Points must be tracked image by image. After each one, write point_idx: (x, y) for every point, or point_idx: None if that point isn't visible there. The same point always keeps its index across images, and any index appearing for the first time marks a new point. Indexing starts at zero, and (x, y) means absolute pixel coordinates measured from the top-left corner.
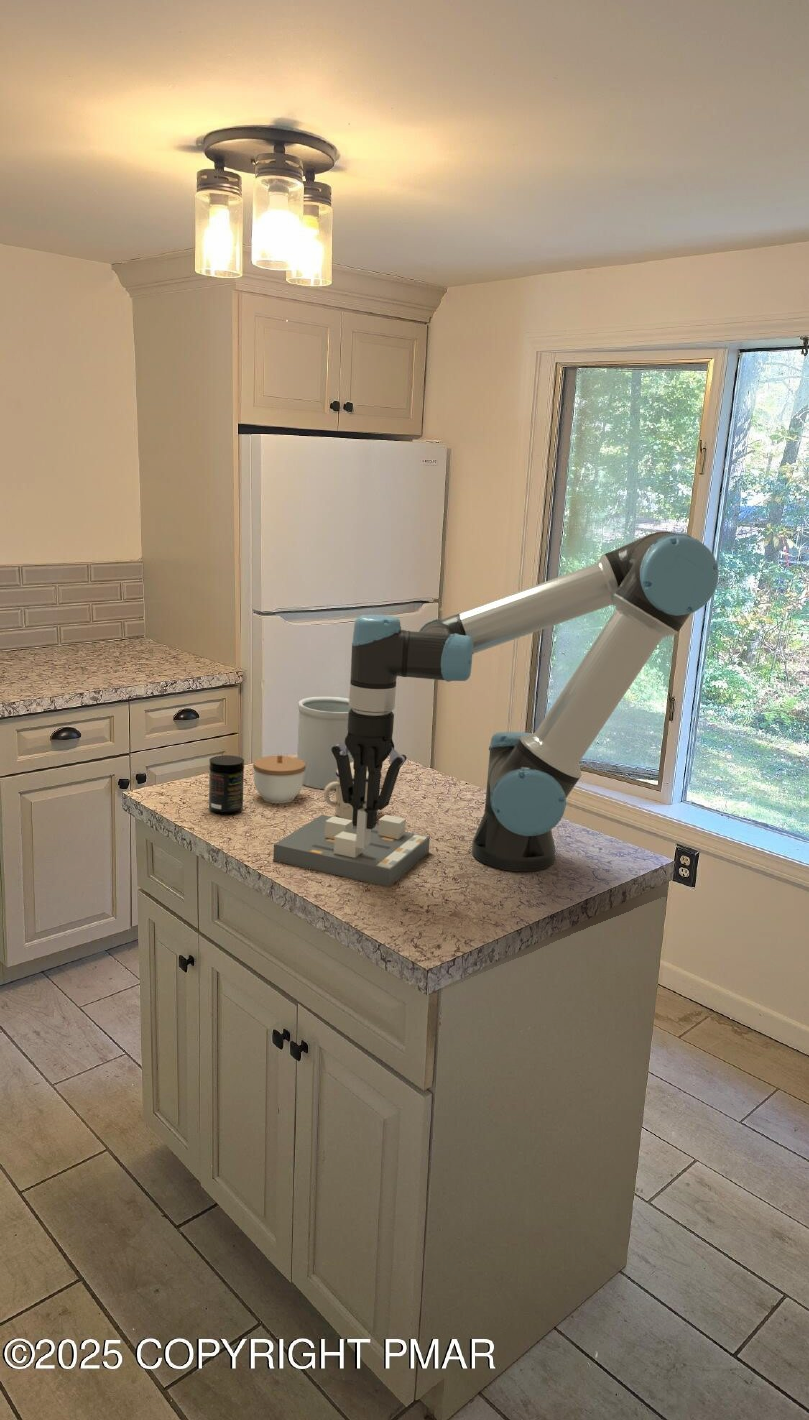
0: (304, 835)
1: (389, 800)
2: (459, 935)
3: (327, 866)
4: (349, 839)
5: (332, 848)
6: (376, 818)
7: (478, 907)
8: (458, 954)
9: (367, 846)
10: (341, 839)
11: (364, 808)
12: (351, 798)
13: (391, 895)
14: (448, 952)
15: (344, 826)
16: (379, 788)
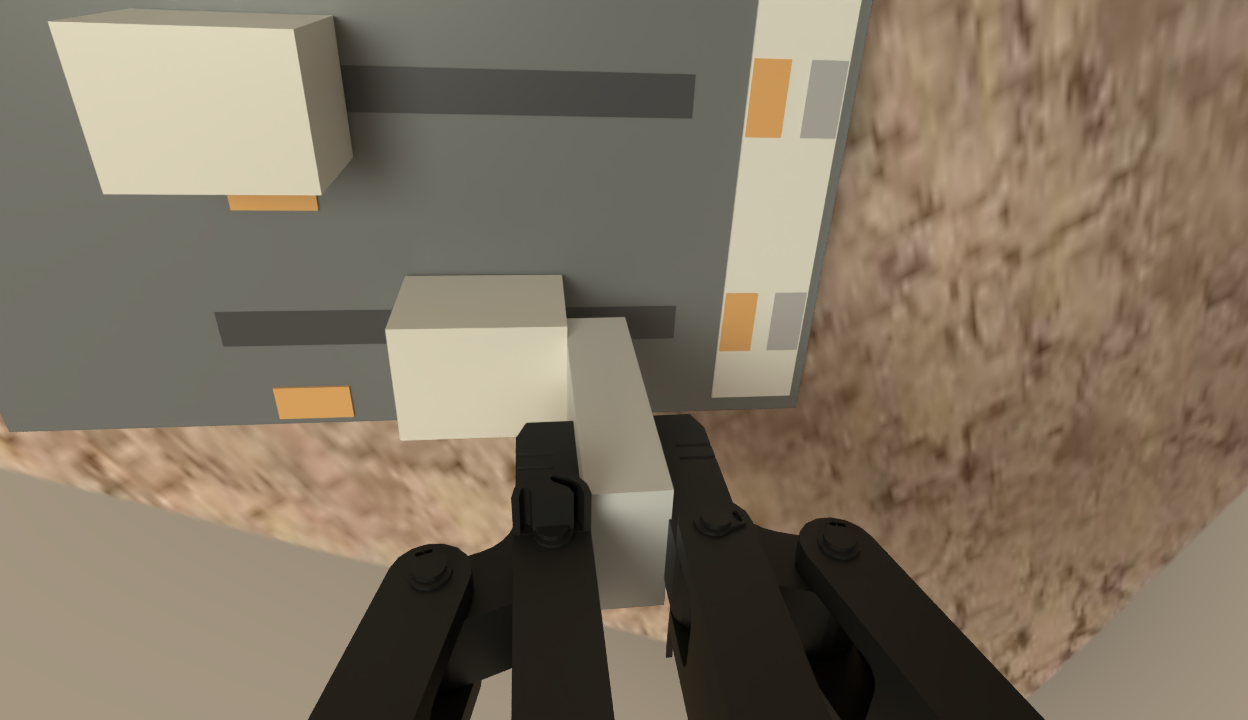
0: (18, 195)
1: (900, 577)
2: (1087, 561)
3: None
4: (514, 429)
5: (357, 306)
6: (716, 464)
7: (1177, 346)
8: (1081, 646)
9: (539, 152)
10: (456, 432)
11: (617, 550)
12: (490, 670)
13: (800, 423)
14: (1052, 650)
15: (312, 190)
16: (814, 686)
